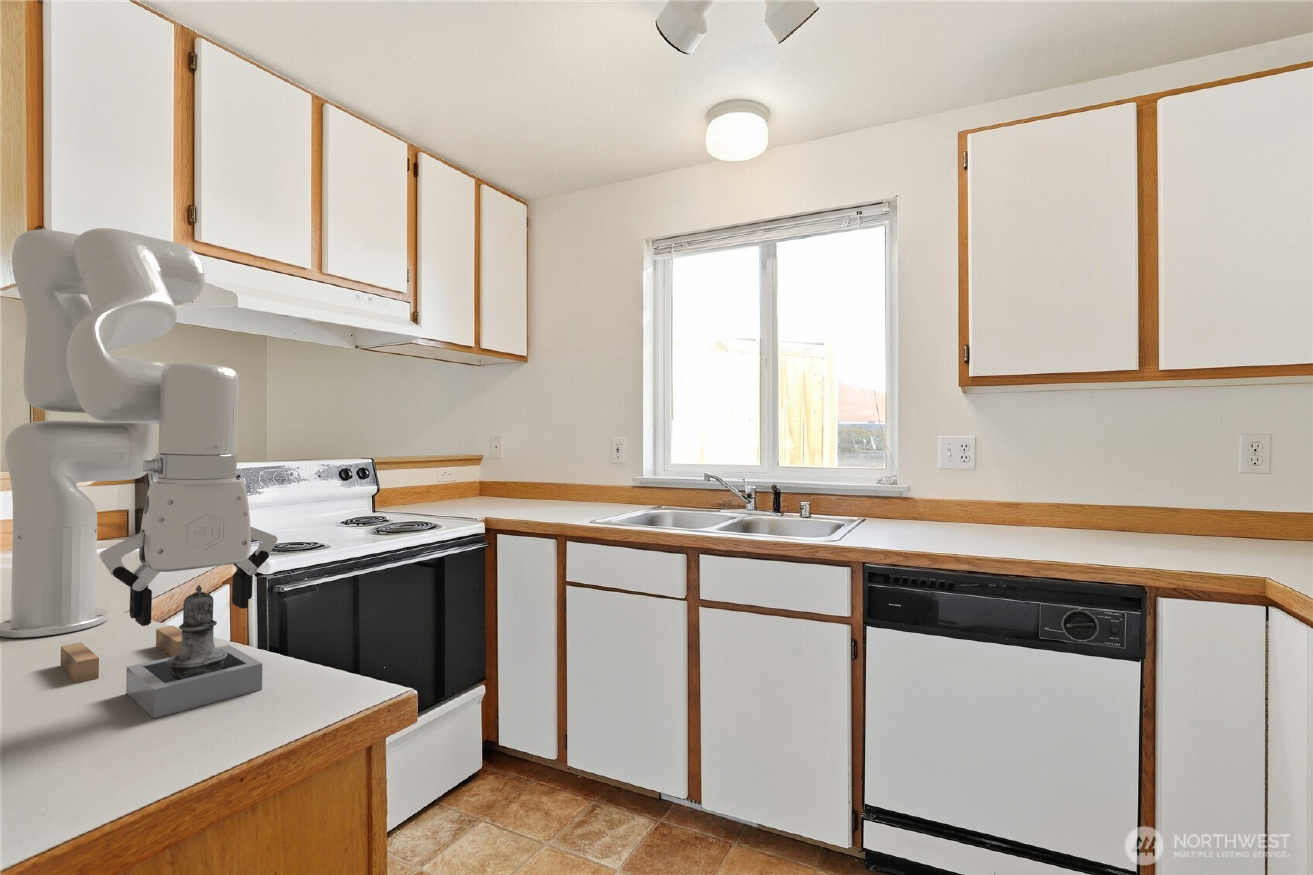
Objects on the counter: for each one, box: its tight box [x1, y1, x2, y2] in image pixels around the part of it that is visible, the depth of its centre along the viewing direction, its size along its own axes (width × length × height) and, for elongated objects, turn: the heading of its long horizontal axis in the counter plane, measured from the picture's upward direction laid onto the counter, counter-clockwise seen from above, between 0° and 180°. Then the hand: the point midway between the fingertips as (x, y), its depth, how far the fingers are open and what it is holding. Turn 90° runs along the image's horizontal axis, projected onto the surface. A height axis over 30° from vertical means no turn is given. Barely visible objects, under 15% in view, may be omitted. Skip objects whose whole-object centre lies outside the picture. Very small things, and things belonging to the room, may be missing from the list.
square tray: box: [125, 644, 263, 719], centre depth 75 cm, size 10×10×3 cm
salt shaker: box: [166, 584, 228, 680], centre depth 75 cm, size 6×6×12 cm
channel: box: [60, 625, 182, 683], centre depth 85 cm, size 9×12×2 cm
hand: (193, 614), depth 75 cm, fingers open, 9 cm apart
